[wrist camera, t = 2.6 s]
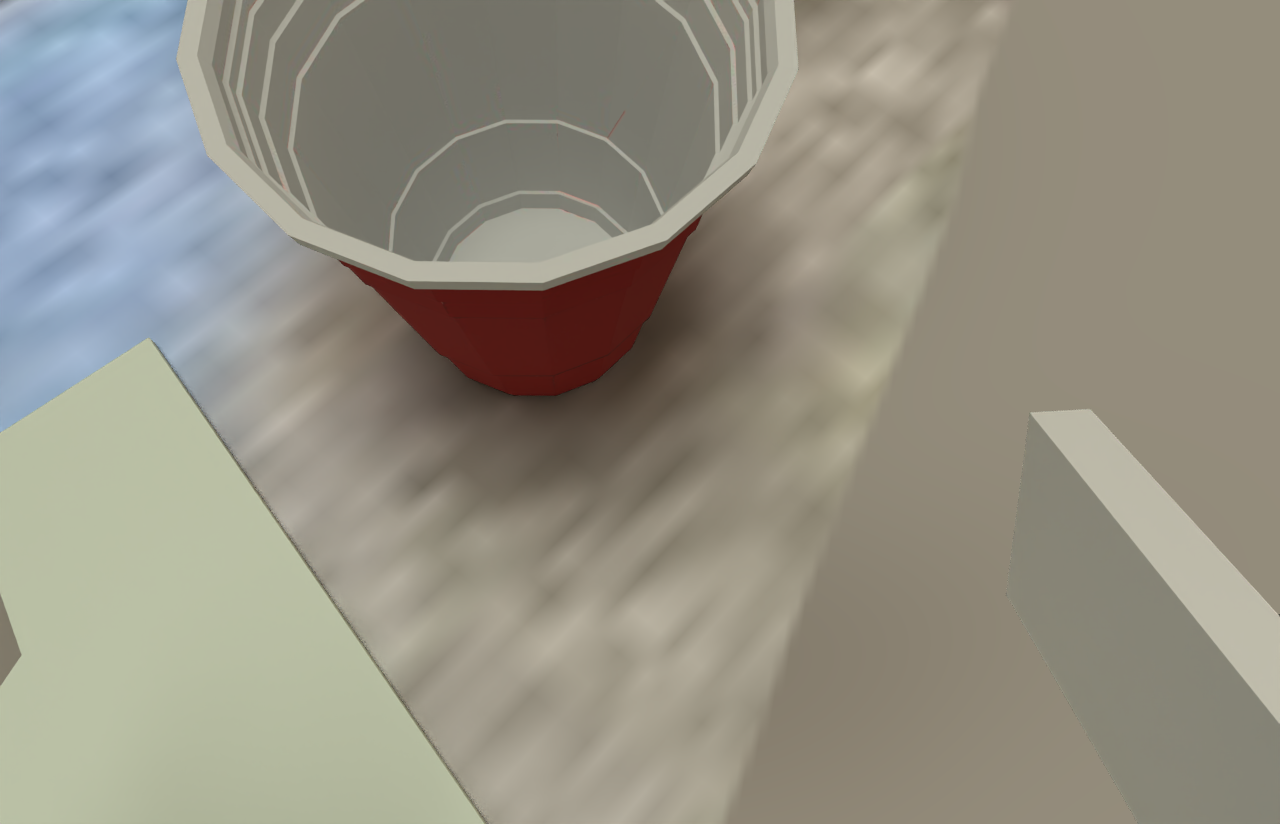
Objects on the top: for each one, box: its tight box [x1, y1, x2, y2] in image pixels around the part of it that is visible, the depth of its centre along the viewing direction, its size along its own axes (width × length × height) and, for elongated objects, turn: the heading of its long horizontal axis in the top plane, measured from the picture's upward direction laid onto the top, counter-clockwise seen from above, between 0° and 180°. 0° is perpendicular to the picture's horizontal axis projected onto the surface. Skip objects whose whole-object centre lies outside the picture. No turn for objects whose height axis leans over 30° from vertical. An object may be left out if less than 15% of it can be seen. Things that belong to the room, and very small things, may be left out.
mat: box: [0, 338, 487, 824], centre depth 27 cm, size 16×16×1 cm
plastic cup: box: [176, 0, 799, 396], centre depth 25 cm, size 11×11×12 cm
